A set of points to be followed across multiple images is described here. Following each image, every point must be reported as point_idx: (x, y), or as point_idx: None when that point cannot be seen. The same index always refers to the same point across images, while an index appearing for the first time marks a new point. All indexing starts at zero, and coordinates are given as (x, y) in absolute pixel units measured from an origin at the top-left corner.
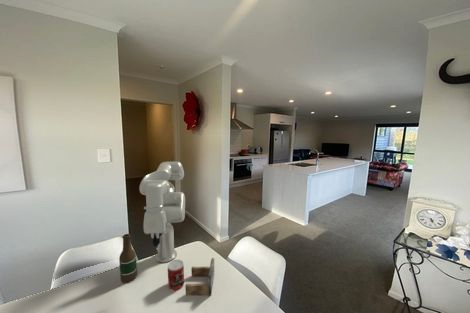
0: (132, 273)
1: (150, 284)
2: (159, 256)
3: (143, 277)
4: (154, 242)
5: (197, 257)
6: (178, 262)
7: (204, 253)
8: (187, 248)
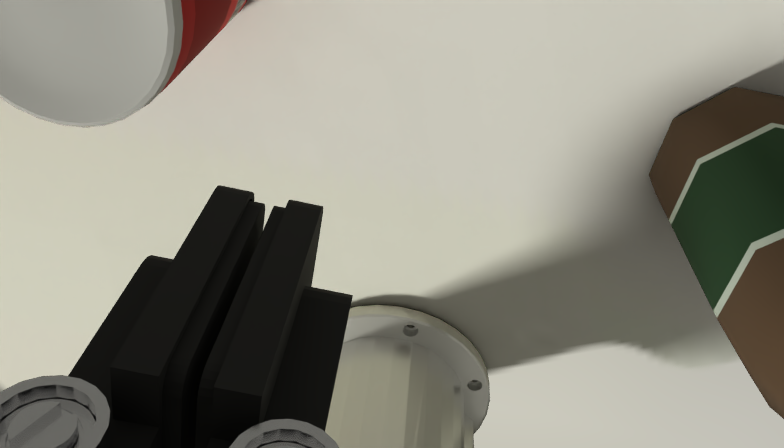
0: (711, 147)
1: (478, 7)
2: (443, 375)
3: (573, 136)
4: (260, 275)
5: (67, 306)
6: (33, 62)
7: (14, 345)
8: None
